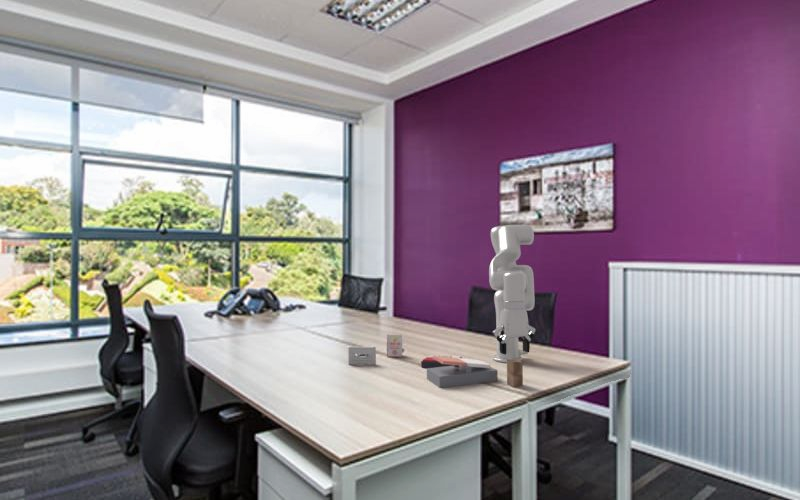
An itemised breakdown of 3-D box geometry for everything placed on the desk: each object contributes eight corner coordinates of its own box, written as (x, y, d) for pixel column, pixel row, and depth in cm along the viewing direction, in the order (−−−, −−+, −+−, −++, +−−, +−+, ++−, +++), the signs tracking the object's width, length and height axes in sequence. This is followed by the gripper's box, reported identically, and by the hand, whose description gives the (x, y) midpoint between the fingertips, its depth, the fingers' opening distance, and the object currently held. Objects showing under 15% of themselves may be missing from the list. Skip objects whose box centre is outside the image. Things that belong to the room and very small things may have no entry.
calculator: (429, 353, 201) (462, 355, 195) (430, 363, 201) (462, 365, 195) (420, 359, 191) (454, 361, 185) (421, 369, 191) (455, 371, 185)
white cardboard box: (388, 355, 213) (388, 333, 213) (402, 355, 213) (402, 334, 212) (387, 356, 210) (386, 335, 210) (401, 357, 209) (401, 335, 209)
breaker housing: (481, 372, 182) (481, 357, 182) (497, 380, 171) (497, 364, 171) (426, 378, 174) (426, 362, 174) (439, 387, 163) (439, 370, 163)
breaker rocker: (478, 365, 180) (479, 360, 180) (489, 370, 172) (490, 365, 172) (433, 360, 173) (434, 355, 173) (442, 366, 165) (443, 360, 165)
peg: (516, 383, 168) (516, 358, 168) (522, 386, 164) (522, 361, 164) (507, 384, 167) (506, 359, 166) (513, 387, 163) (513, 362, 163)
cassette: (348, 365, 196) (348, 347, 196) (349, 364, 198) (348, 346, 198) (375, 365, 195) (375, 347, 195) (376, 364, 197) (376, 346, 197)
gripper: (528, 303, 171) (528, 349, 171) (488, 305, 166) (488, 352, 165) (540, 305, 164) (541, 353, 164) (499, 307, 159) (499, 356, 158)
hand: (514, 352), depth 165 cm, fingers open, 9 cm apart
